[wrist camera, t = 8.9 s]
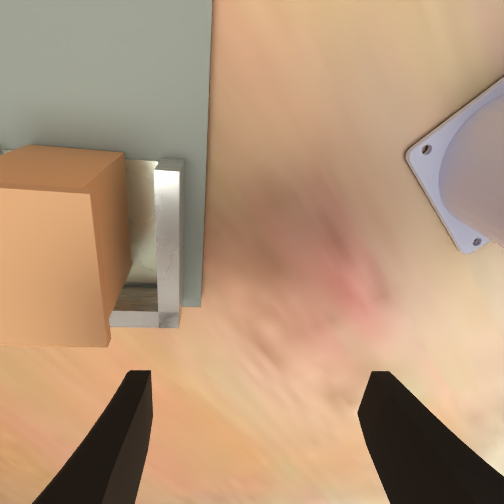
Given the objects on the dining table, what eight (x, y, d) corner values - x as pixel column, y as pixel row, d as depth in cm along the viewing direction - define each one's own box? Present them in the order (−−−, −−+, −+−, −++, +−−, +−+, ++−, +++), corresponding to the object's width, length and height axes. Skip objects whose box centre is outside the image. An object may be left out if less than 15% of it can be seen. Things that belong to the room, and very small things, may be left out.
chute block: (19, 143, 15) (-91, 181, 10) (133, 153, 16) (89, 194, 10) (42, 263, 18) (-33, 345, 12) (139, 267, 18) (107, 347, 13)
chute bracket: (-26, 141, 15) (-68, 153, 13) (184, 158, 16) (179, 171, 14) (13, 294, 19) (-14, 324, 16) (183, 299, 20) (178, 328, 17)
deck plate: (-90, -80, 12) (-119, -93, 11) (214, -34, 14) (213, -43, 13) (8, 289, 20) (-4, 301, 19) (201, 295, 21) (200, 307, 20)
